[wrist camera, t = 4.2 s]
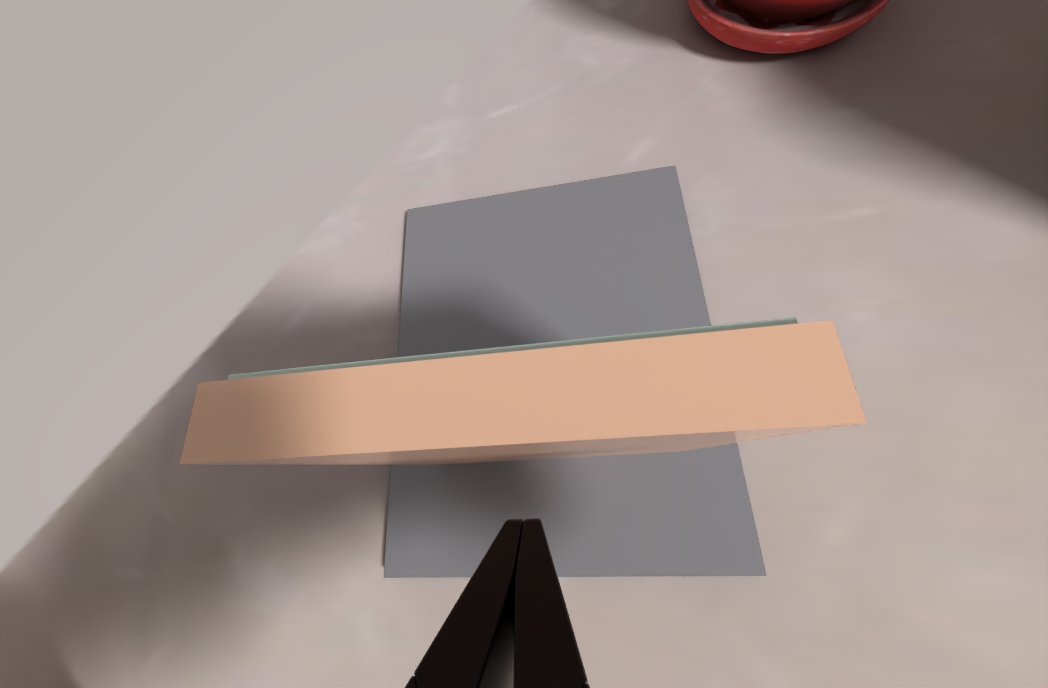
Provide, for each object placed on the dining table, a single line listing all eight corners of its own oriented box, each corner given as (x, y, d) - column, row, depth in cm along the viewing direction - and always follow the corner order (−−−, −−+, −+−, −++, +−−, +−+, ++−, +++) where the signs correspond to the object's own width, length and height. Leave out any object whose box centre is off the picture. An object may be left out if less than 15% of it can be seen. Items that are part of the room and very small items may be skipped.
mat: (759, 571, 15) (766, 575, 14) (390, 573, 17) (383, 577, 17) (673, 173, 21) (675, 165, 21) (411, 215, 24) (407, 209, 23)
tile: (677, 451, 16) (866, 423, 5) (438, 464, 18) (179, 464, 7) (670, 412, 17) (828, 307, 6) (439, 428, 18) (200, 372, 7)
